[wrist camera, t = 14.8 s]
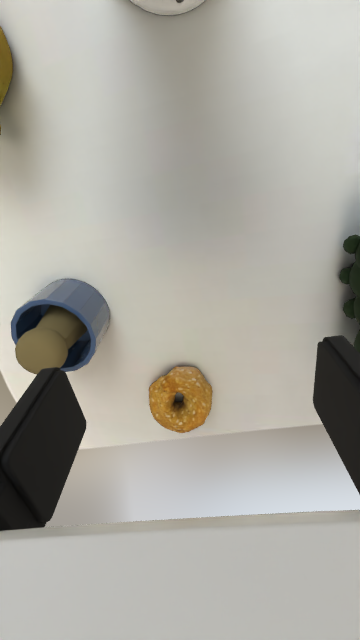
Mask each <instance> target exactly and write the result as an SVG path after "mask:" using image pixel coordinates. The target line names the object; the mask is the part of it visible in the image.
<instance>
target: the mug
mask: <svg viewBox="0 0 360 640" xmlns="http://www.w3.org/2000/svg"><path fill="white" fill-rule="evenodd" d="M12 72H13V63H12V56H11V52H10V48H9V45H8V42H7V40H6V37H5V35H4V33H3V30H2V28H1V27H0V106H1V104H2V102H3V99H4V97H5V95H6V93H7V90H8V87H9V84H10V81H11V78H12ZM0 135H1V126H0Z"/></svg>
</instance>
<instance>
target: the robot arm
mask: <svg viewBox="0 0 360 640" xmlns="http://www.w3.org/2000/svg"><path fill="white" fill-rule="evenodd" d="M130 1H131V2H132V3H134V4H136V5H137V6H139V7H141V8H142V9H144V10H146V11H149V12H152V13H155V14H158V15H176V14H181V13H185V12H187V11H189V10H192V9H194V8H196V7H198V6H199V5H200V4H202V3H203V2H204V1H205V0H183V1H182V2H181V3H178V2H177V0H130ZM313 403H314V407H315V409H316V411H317V413H318V415H319V417H320V419H321V421H322V423H323V425H324V427H325V429H326V431H327V433H328V434H329V436H330V438H331V440H332V442H333V444H334V446H335V448H336V450H337V452H338V454H339V456H340V457H341V459H342V461H343V463H344V465H345V467H346V469H347V471H348V473H349V475H350V476H351V479H352V480H353V482H354V484H355V486H356V488H357V490H358V492H359V494H360V353H359V352H358V351H357V350H356V349H355V348H354V347H353V346H352V345H351V344H350V342H349V341H348V340H347V339H346V338H345V337H344V336H342V335H340V336H331V337H325V338H324V339H323V342H319V343H318V348H317V360H316V371H315V382H314V394H313ZM85 430H86V420H85V417H84V415H83V413H82V410H81V408H80V405H79V403H78V401H77V398H76V396H75V394H74V391H73V389H72V387H71V384H70V382H69V380H68V377H67V375H66V373H65V371H63V370H61V369H60V368H59V367H53V368H44V369H41V370H40V372H39V373H38V374H37V376H36V377H35V379H34V380H33V381H32V383H31V384H30V386H29V387H28V388H27V390H26V391H25V393H24V394H23V395H22V397H21V398H20V400H19V401H18V402H17V404H16V405H15V407H14V408H13V410H12V411H11V412H10V414H9V415H8V417H7V418H6V419H5V421H4V422H3V424H2V425H1V426H0V640H360V510H343V511H315V512H297V513H278V514H258V515H239V516H221V517H205V518H187V519H169V520H152V521H135V522H119V523H104V524H88V525H72V526H58V527H45V524H46V522H48V521H50V519H51V518H52V516H53V513H54V511H55V508H56V505H57V503H58V500H59V498H60V495H61V492H62V490H63V487H64V485H65V482H66V479H67V477H68V474H69V472H70V469H71V467H72V464H73V461H74V459H75V456H76V453H77V451H78V448H79V446H80V443H81V440H82V438H83V435H84V433H85Z"/></svg>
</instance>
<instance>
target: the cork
mask: <svg viewBox="0 0 360 640" xmlns="http://www.w3.org/2000/svg"><path fill="white" fill-rule="evenodd" d="M86 331H87V327H86V326H85V324H84V323H83V322H82V321H81V320H80V319H79V318H78V317H77V315H75V314H74V313H72V312H70V311H68V310H66V309H65V308H63V307H60V306H55V305H50V306H49V308H48V309H47V311H46V313H45V314H44V316H43V317H42V319H41V320H40V322H39V324H38V325H37V327H36V328H34V329H32V330H30V331H27V332H25V333H24V334H23V335H22V336H21V337H20V339H19V340H18V342H17V344H16V348H15V352H16V358H17V360H18V363H19V364H20V365H21V366H22V367H23V368H24V369H26V370H27V371H29V372H31V373H34V374H38V373H39V372H40V370H41V369H44V368H53V367H59V368H60V367H61V366H62V365H63V364H64V363H65V361H66V358H67V356H68V349H69V348H70V347H71V346H72V345H73V344H74V343H75V342H76V341H77V340H78V339H79V338H80V337H81V336H82V335H83V334H84V333H85V332H86Z"/></svg>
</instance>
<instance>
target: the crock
mask: <svg viewBox="0 0 360 640" xmlns="http://www.w3.org/2000/svg"><path fill="white" fill-rule="evenodd" d="M50 305H55V306H60V307H63V308H65V309H66V310H68V311H70V312H72V313H74V314H75V315H77V317H78V318H79V319H80V320H81V321H82V322H83V323H84V324H85V326H86V327H87V331H86V332H85V333H84V334H83V335H82V336H81V337H80V338H79V339H78V340H77V341H76V342H75V343H74V344H73V345H72V346H71V347H70V348H69V349H68V356H67V358H66V361H65V363H64V364H63V365H62V366H61V367H60V369H61V370H63V371H65V372H68V371H75V370H77V369H79V368H81V367H83V366H84V365H86V364H88V362H89V361H90V359H91V358H92V356H93V355H94V353H95V352H96V350H97V348H98V346H99V344H100V342H101V340H102V338H103V336H104V334H105V332H106V330H107V328H108V324H109V320H110V313H109V308H108V305H107V303H106V301H105V299H104V298H103V296H102V295H101V294H100V293H99V292H98V291H97V290H96V289H95V288H93V287H92V286H90V285H89V284H87V283H85V282H82V281H79V280H74V279H61V280H57V281H55V282H52V283H51V284H49V285H48V286H46V287H45V288H44V289H42V290H41V291H40V292H39V293H37V294H36V295H35V296H34V297H32V298H31V299H30V300H29V301H27V302H26V303H25V304H24V305H22V306H21V307H20V308H19V309H17V311H16V313H15V315H14V317H13V319H12V321H11V334H12V339H13V341H14V343H15V344H17V342H18V340H19V339H20V337H21V336H22V335H23V334H24V333H25V332H27V331H30V330H32V329H34V328H36V327H37V325H38V324H39V322H40V320H41V319H42V317H43V316H44V314H45V313H46V311H47V309H48V308H49V306H50Z"/></svg>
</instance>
